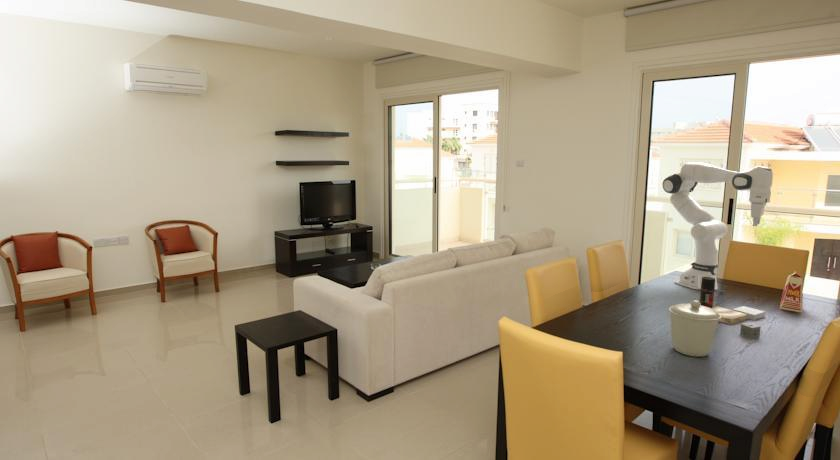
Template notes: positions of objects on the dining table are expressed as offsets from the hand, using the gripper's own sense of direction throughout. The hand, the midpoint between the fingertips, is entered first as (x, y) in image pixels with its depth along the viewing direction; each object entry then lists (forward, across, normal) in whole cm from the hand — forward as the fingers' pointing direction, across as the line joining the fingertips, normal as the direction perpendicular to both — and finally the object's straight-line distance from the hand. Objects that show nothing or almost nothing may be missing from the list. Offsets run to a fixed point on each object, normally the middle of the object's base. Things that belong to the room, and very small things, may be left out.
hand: (756, 225), depth 257 cm
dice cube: (+42, +57, +7) cm, 71 cm away
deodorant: (+42, +23, -15) cm, 50 cm away
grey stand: (+41, +24, +4) cm, 48 cm away
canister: (+42, +93, -9) cm, 102 cm away
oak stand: (+41, +36, -5) cm, 55 cm away
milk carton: (+42, -3, +19) cm, 46 cm away
